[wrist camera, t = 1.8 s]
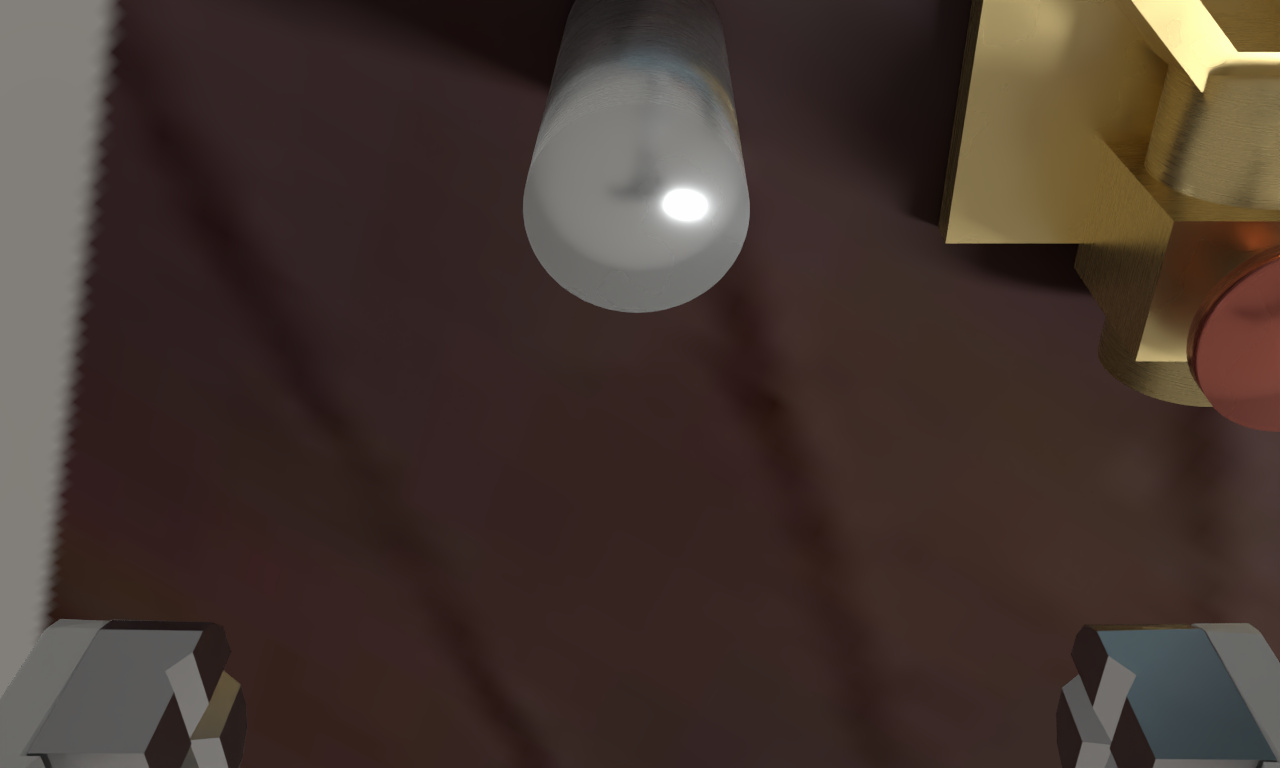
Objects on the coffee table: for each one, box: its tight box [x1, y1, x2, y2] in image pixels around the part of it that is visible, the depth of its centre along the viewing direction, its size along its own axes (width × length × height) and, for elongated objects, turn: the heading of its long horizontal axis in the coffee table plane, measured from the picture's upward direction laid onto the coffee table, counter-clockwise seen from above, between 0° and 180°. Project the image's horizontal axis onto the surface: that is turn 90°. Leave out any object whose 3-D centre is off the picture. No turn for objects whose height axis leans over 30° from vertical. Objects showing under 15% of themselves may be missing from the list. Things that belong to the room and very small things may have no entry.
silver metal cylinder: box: [523, 0, 750, 313], centre depth 24 cm, size 4×4×10 cm
